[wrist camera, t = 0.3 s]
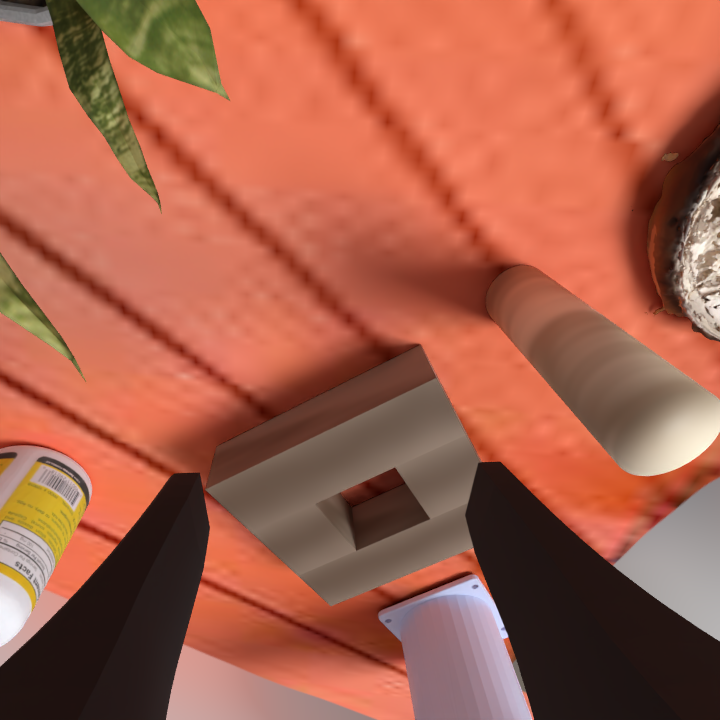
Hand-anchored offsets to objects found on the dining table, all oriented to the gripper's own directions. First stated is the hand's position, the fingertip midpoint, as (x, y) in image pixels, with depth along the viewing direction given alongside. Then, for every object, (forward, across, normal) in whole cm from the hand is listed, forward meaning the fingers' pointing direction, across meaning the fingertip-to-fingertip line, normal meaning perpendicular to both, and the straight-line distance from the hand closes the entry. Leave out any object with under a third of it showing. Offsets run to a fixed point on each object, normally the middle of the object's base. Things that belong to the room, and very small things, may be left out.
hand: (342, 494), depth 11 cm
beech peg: (+10, -9, -2) cm, 14 cm away
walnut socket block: (+10, -2, +9) cm, 14 cm away
